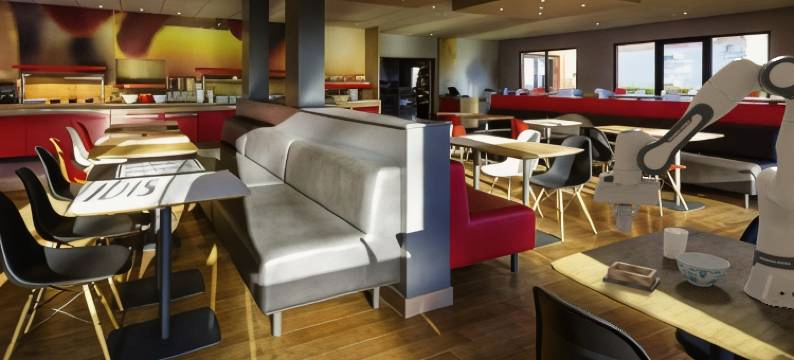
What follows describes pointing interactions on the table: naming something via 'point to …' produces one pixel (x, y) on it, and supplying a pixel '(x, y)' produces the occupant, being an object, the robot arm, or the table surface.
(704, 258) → the chinaware
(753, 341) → the table surface
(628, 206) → the medicine box
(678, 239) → the white cup
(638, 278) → the locating plate
